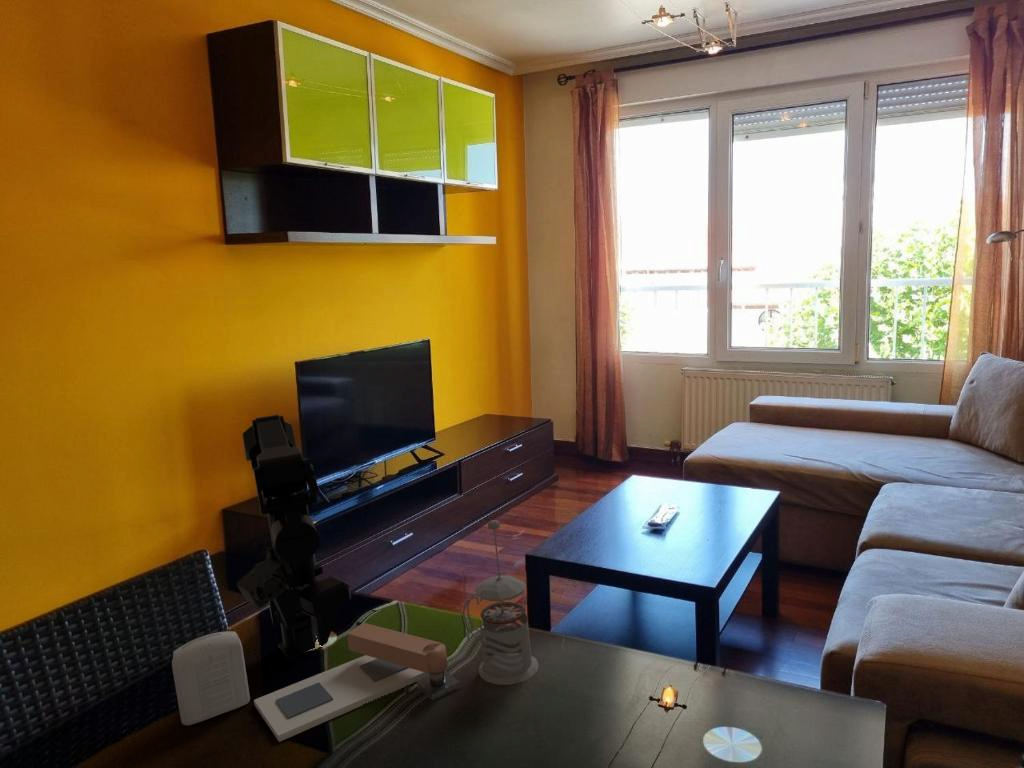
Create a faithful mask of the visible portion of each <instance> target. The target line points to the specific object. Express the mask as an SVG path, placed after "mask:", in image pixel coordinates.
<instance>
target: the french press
mask: <svg viewBox="0 0 1024 768" xmlns="http://www.w3.org/2000/svg"><path fill="white" fill-rule="evenodd" d="M500 527H501V525H500V521H498V520H496V519H492V520H489V521H488V523H487V529H488V530H493V536H494V544H495V545H494V546H495V554H496V555H495V556H496V564H497V565H496V566H497V573H498V574H497V575H496V576H492V577H488V578H486V579H485V580H483V581H482V582H481V583H479V584H477V586H476V588H475V589H474V591H475V593H474V594H472V595H471V596H470V597H469V598H468V600H467V601H466V602H465V603H464V606H463V608H462V619H463V623H464V626H465V628H466V630H467V631H468V632H469V634H470V635H472V636H473V637H475V638H476V639H478V640H479V641H480V644H481V652H482V658H483V661H482V662H481V664H480V666H479V668H478V674H479V676H480V678H481V679H483V680H484V681H485V682H487V683H491V684H494V685H500V686H501V685H513V684H517V683H522V682H524V681H526V680H529V679H530V678H532V677H533V676H534V675H535V674H536V673H537V672H538V670H539V665H540V664H539V661H538V660H537V658H536V657H535V656H533V655H532V651H531V650H532V649H531V639H530V629H529V621H528V619H529V618H528V616H527V614H526V613H525V612H526V609H525V606H523V604H520V603H519V602H515V601H513V602H512V601H510V600H514V599H515V598H518V597H520V596H521V595H523V594H524V592H525V590H526V587H527V584H526V583H525V582H524V581H523V580H522V579H519V578H516V577H514V576H512V575H505V574H504V575H500V565H499V554H498V545H497V536H496V530H498V529H500ZM473 599H475V600H476V603H477V605H480V604H481V603H482V601H483V600H484V601H489V602H495V603H492V604H490V605H487V606H486V607H484V608H483V609H482V610H481V612H480V617H481V619H482V620H480V621H479V629H478V628H477V627H476V626H475V625H474V623H473V622H472V620H471V619H472V618H471V617H470V611H469V607H470V602H471V601H472V600H473ZM479 599H480V600H479ZM465 609H466V613H467V618H468V620H469V623H470V624H471V627H472V628H474V630H476V631H477V632H478V633H479V634H480V637H479V636H477V635H475V634H474V633H473V632H472V631H471V630H470V628H469V627H468V625H467V621H466V618H465V617H466V616H465ZM517 621H519V622H521V623H522V624H523V625H522V624H520V623H519V622H517ZM482 622H483V625H482ZM507 624H512V625H513V624H514V625H515V626H510V625H507ZM500 625H505V626H503V627H500V628H499V629H496V628H498V627H499V626H500ZM482 626H483V627H482ZM517 627H518V628H517ZM505 631H506V632H505ZM498 642H500V643H498ZM519 642H520V643H519Z"/></svg>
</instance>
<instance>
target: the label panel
mask: <svg viewBox="0 0 1024 768" xmlns="http://www.w3.org/2000/svg"><path fill="white" fill-rule="evenodd" d="M427 676H429V673H425V672H422V671H418V670H415V669H411V668H408V667H405V666H401V665H398V664H394V663H391V662H388V661H384V660H381V659H377V658H374V657H370V656H367V655H363V656H359V657H357V658H356V659H353V660H350V661H347V662H345V663H341V664H340V665H338V666H335V667H332V668H330V669H328V670H325V671H323V672H321V673H317V674H315V675H312V676H310V677H308V678H306V679H305V678H304V679H303V680H300V681H298V682H295V683H292V684H290V685H287V686H285V687H283V688H280V689H278V690H275V691H273V692H271V693H268V694H266V695H263V696H261V697H257V698H256V699H254V700H253V703H254V706H255V709H256V710H257V711H258V713H259V714H260V715H261V717H262V719H263V720H264V722H265V724H267V727H269V729H270V730H271V732H272V734H273V735H274V737H275V738H276V740H277V742H279V743H280V742H282V741H284V740H287V739H289V738H291V737H294V736H296V735H298V734H300V733H303V732H306V731H307V730H309V729H312V728H314V727H316V726H319V725H321V724H323V723H326V722H328V721H330V720H332V719H335V718H337V717H340V716H341V715H344V714H346V713H349V712H351V711H353V710H355V709H357V708H359V707H362V706H364V705H363V704H365V703H367V704H369V703H371V702H373V700H374V701H376V700H378V699H380V698H382V697H381V696H383V697H385V696H387V695H389V693H390V694H392V693H394V692H396V691H398V690H401V689H403V688H405V687H408V686H410V685H412V684H414V683H416V681H418V680H421V679H423V678H425V677H427ZM407 685H408V686H407ZM384 695H385V696H384ZM379 697H380V698H379ZM377 698H378V699H377ZM375 699H376V700H375ZM370 701H371V702H370ZM368 702H369V703H368ZM365 705H366V704H365Z"/></svg>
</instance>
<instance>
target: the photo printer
mask: <svg viewBox="0 0 1024 768" xmlns="http://www.w3.org/2000/svg"><path fill="white" fill-rule="evenodd" d="M244 655H245V654H244V649H243V645H242V641H241V639H240V638H239V635H238V633H237V631H230V630H229V631H218V632H214V633H208V634H206V635H203V636H201V637H200V636H199V637H197V638H195V639H192V640H190V641H188V642H186V643H185V644H183V645H181V646H180V647H178V648H176V649H175V650H174V651H173V652H172V661H171V668H172V675H173V679H174V685H175V686H174V687H175V692H176V698H177V704H178V709H179V710H178V711H179V716H180V722H181V724H182V725H184V726H191V725H195V724H198V723H201V722H203V721H206V720H209V719H212V718H214V717H218V716H219V715H222V714H224V713H225V714H226V713H227V712H230V711H233V710H236V709H238V708H241V707H242V706H243V707H244V706H245V705H247V704H248V703H249V702H250V701H251V696H250V688H249V683H248V675H247V671H246V670H247V669H246V663H245V657H244Z"/></svg>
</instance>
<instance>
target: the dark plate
mask: <svg viewBox="0 0 1024 768" xmlns="http://www.w3.org/2000/svg"><path fill="white" fill-rule="evenodd" d="M415 683H416V688H417V689H419V691H421V693H423V694H424V695H425V696H427V698H429V700H431V701H432V702H433V701H435V700H437V699H439V698H441V697H443V696H446V695H448V694H450V693H452V692H455V691H457V690H459V689H460V688H461V682H460V681H459V679H457V678H456V677H454V676H453V675H451V674H450V673H449V672H448V671H447V670H446V669H445V670H444V671H442V672H439V673H429V676H427V677H425V678H423V679H421V680H418V681H416V682H415Z"/></svg>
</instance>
